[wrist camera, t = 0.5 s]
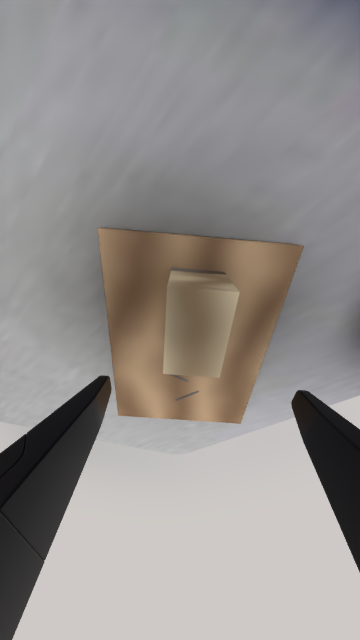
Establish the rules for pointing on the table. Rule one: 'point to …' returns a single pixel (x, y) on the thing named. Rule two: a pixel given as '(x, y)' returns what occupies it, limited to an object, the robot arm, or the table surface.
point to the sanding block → (198, 321)
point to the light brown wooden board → (150, 315)
